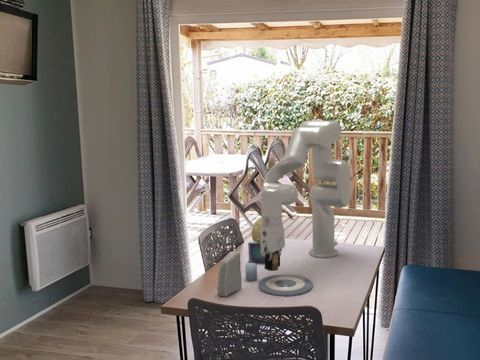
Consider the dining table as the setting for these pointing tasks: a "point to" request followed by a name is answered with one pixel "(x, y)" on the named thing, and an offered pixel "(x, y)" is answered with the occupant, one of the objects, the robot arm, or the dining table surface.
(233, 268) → the decorative stone
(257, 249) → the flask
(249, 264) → the smooth blue-gray rounded cylinder
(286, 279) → the plate
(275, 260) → the brown rounded cylinder
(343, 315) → the dining table surface
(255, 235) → the fossilized egg
